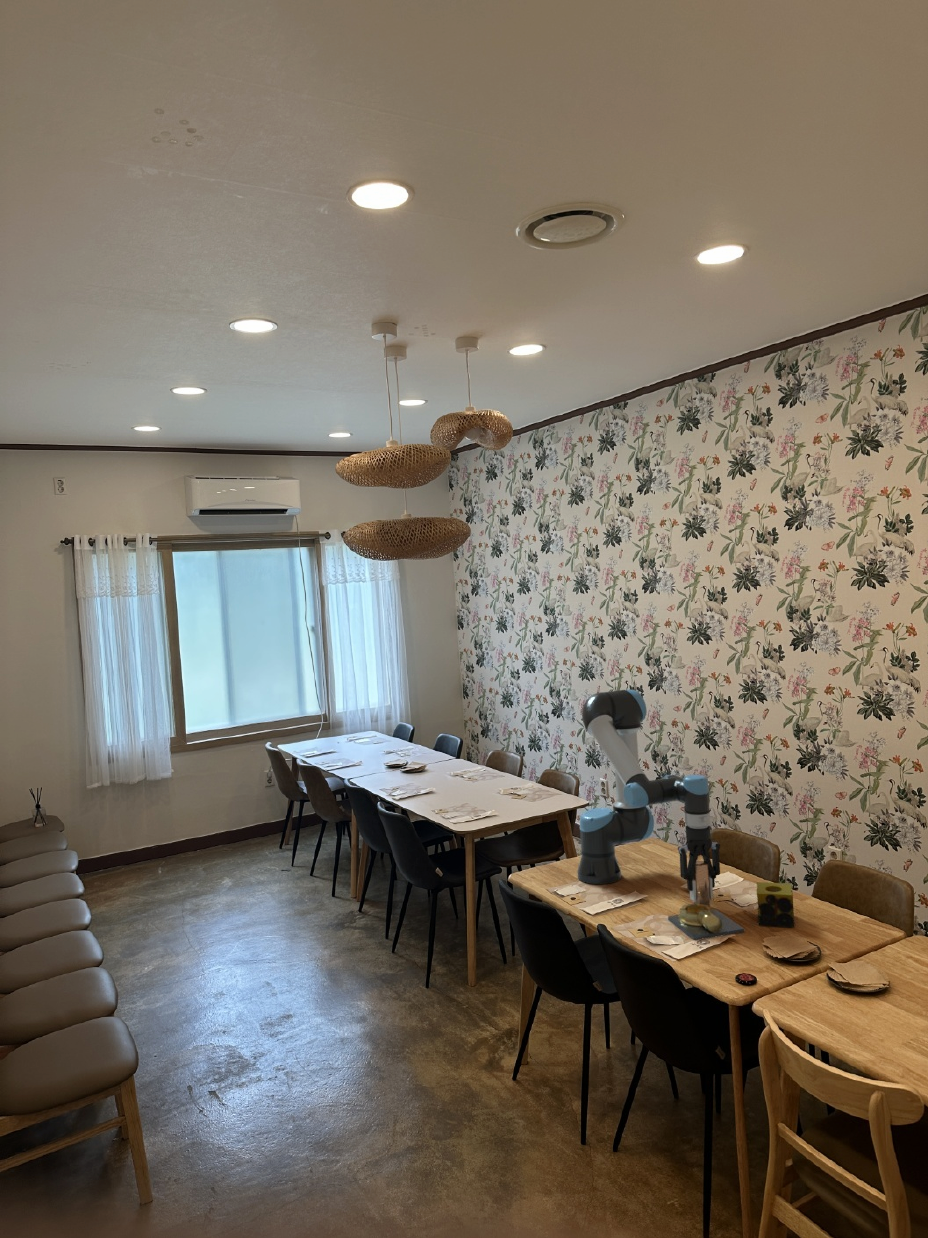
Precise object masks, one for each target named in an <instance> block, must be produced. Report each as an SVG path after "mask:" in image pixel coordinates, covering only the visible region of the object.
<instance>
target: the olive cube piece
mask: <svg viewBox="0 0 928 1238" xmlns="http://www.w3.org/2000/svg"><path fill="white" fill-rule="evenodd" d="M792 887H793V886H792V883H790V882H787V883H785V882H765V881H764V882H762V881H759V882H758V881H757V882H756V897H757V899H756V900H757V902H756V904H757V919H758V926H760V927H772V928H786V929H794V928H795V913H794V898H793V889H792Z"/></svg>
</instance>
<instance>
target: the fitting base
mask: <svg viewBox="0 0 928 1238" xmlns="http://www.w3.org/2000/svg"><path fill="white" fill-rule="evenodd" d="M667 920H668V921H669V922H670V923H672V924H673V925H674V926H675V927H677V928H678V929H679V930H680V931H681V932H683V933H684V934H686V935H687V936H688V937H689V938H690V939H692V940H693V941H697V940H698V941H699V940H703V939H702V938H704V939H711V938H715V936H717V937H721V935H723V936H728V935H734V934H740V933H745V928H744V927H742V926H741V925H739V924H738V923H737V922H735V921H733V920H732V919H731V918H729V917H728V916H726V915H725V914H723V913H722V912H721V911H719V910H718V909H716V908H715V909H713V908H712V907H711V906H710V907H709V906H708V905H703V904H696V903H694V902H693V903H688V904H683V905H682V906H681V908H680V909H679V914H677V915H669V916H667Z"/></svg>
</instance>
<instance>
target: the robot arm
mask: <svg viewBox="0 0 928 1238" xmlns="http://www.w3.org/2000/svg"><path fill="white" fill-rule="evenodd" d="M582 707H583V708H582V712H581V714H582V715H581V719H582V723H583V726H584V728H585V729H586V732H587V733H588V734H589V735H590V736H593V737H594V739H595V740H596V742H597V743H598V745H599V747H600V748H601V751H603V753H604V754H605V757H606V758H607V760H608V761H609V762H610V764H611V765H612V767H613V769H614V777H615V791H616V800H615V801H614V802H613V803H612V809H610V808H609V807H595V808H591V809H588V810H586V811H585V812H583V813H582V814H581V815H580V818H579V833H580V850H581V857H580V860H579V865H578V868H577V879H578V880H579V881H581V882H583V883H585V882H586V883H587V884H591V885H607V884H613V883H615V882H619V880H621V878H622V871H621V867H620V865H619V862H618V859H617V856H616V849H615V847H616V846H619V845H624V844H629V843H639V842H641V841H644V840H647V839H648V838H650V837H651V835H652V834H653V832H654V828H655V818H654V815H653V814H652V813H653V812H652V809H650V808H649V807H648V806H653V805H658V804H659V805H660V804H665V803H672V802H679V803H682V804H683V805H684V820H685V825H686V826H685V836H686V837H685V838H686V842H685V844H684V845H682V846H678V847H677V850H678V853H679V868H680V871H679V873H680V877H681V878H682V879H683V880H685V881H686V887H687V890H688V892H689V899H690V900H691V901H692V902H693V903H694V902H697V901H696V881H695V880H693V877H694V872H695V865H696V861H698V859H699V857H700V856H702V859H703V860H702V861H704V862H706V863H707V864H708V871H709V891H710V900H714V892H713V891H714V890H713V888H715V886H716V882H715V880H716V879H717V876H720V875H721V866H720V865H721V863H720V849H721V844H720V843H718V842H716V841H712V839H711V838H712V830H711V826H710V825H711V813H710V788H709V780H708V778H707V777H706V776H705V775H703V774H688V775H685V776H684V777H681V776H679V775H676V774H666V775H664V776H662V777H660V778H658V779H652V780H650V779H649V778H648V777H647V775H646V774H645V772H644V771H643V769H642V768H641V766H640V762H639V761H640V760H639V748H638V731H639V730H640V729H641V728H642V727H641V722H643V721H644V720H645V719H646V716H647V706H646V702H645V700H644V697H643V696H642V695H641V693H640V692H638V691H636V690H635V689H619V690H610V691H604V692H601V691H600V692H597V693H594V694H592V695H590V696H589V697H588V698H587V699H586V701H585V703H584V704H583V706H582ZM710 849H711V855H710ZM688 851H689V852H688ZM687 854H688V855H687ZM688 857H689V858H688Z"/></svg>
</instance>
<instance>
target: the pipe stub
mask: <svg viewBox="0 0 928 1238" xmlns="http://www.w3.org/2000/svg"><path fill="white" fill-rule="evenodd" d="M693 880H695V881H696V901H697V902H694V901H693V904H694V903H696V904H703V905H708V906H709V907H711V899H710V891H709V871H708V864H707V863H706V862H704V860H697V861H696V865H695V872H694V877H693Z"/></svg>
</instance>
